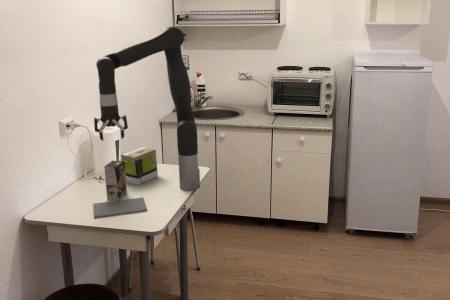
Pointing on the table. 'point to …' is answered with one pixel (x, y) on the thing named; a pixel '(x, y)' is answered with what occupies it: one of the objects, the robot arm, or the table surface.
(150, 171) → the tea box
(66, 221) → the table surface
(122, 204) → the mat
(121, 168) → the coffee box
